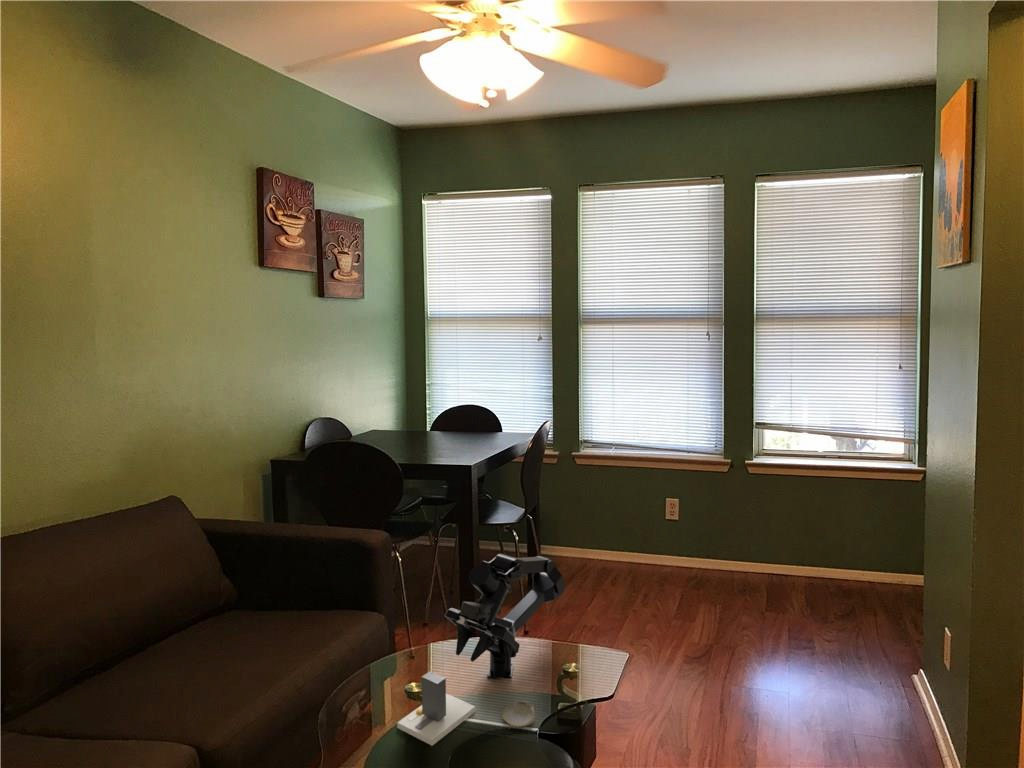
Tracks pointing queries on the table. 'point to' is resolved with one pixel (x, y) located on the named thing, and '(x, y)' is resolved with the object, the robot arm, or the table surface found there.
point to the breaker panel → (434, 729)
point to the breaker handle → (434, 696)
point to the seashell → (519, 714)
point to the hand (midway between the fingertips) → (464, 657)
